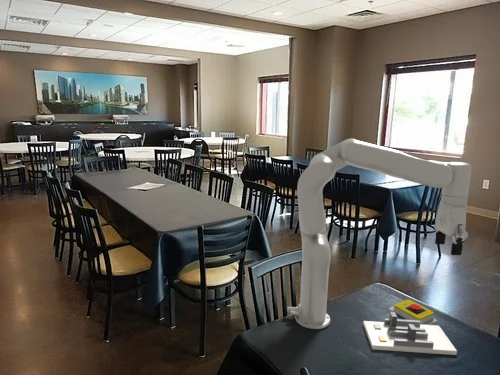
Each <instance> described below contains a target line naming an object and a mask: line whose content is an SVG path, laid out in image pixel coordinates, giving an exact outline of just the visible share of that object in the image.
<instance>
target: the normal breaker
mask: <svg viewBox="0 0 500 375" xmlns="http://www.w3.org/2000/svg"><path fill="white" fill-rule="evenodd" d="M397 315H398V314H396V313H395V312H393V311H389V317H388V319H389V326H393V327H396V324H397V319H398V316H397Z"/></svg>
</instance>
